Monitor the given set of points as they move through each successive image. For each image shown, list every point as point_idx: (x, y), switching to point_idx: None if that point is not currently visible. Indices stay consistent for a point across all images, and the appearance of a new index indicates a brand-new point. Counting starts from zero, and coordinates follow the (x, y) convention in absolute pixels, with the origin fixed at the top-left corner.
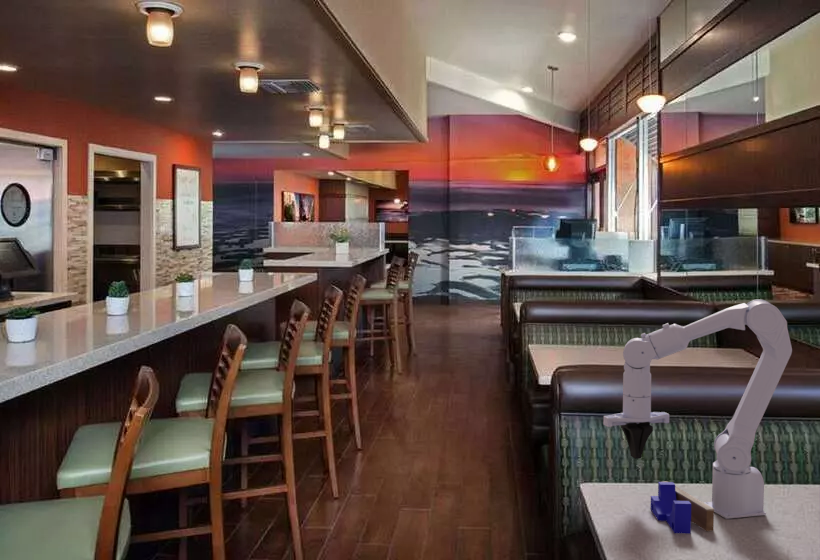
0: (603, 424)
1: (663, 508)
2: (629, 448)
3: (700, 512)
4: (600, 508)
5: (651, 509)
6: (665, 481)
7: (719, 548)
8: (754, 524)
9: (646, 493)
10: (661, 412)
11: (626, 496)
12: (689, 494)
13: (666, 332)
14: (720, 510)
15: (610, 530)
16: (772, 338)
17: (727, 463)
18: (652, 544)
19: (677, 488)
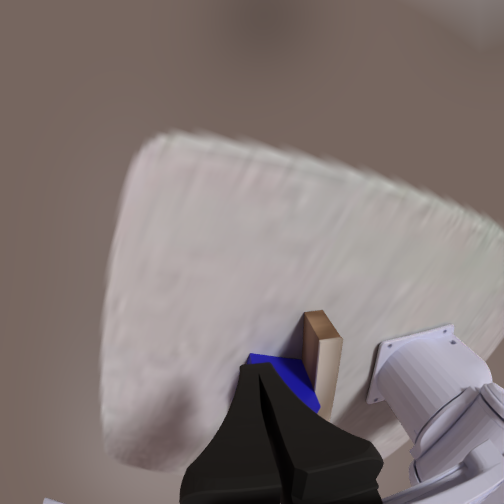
0: (45, 499)
1: None
2: (238, 385)
3: None
4: (122, 330)
5: (247, 362)
6: (337, 340)
7: None
8: (389, 411)
9: (302, 249)
10: (497, 484)
11: (228, 263)
12: (329, 417)
13: None
14: (378, 387)
15: (120, 418)
16: None
17: (417, 476)
18: (177, 459)
19: (330, 388)
